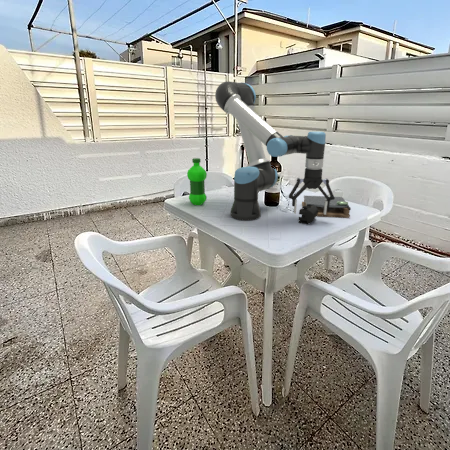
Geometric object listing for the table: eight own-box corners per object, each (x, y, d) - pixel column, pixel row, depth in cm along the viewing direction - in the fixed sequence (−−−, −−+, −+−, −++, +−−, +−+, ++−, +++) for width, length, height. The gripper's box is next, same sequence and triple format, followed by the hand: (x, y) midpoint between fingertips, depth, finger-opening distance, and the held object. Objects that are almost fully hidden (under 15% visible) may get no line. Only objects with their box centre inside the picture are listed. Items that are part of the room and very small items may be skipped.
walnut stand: (305, 215, 147) (306, 205, 145) (301, 204, 165) (302, 195, 163) (349, 218, 144) (351, 207, 142) (341, 206, 162) (342, 196, 160)
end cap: (313, 225, 135) (315, 211, 132) (297, 223, 138) (299, 209, 135) (317, 219, 143) (319, 205, 140) (302, 216, 146) (304, 203, 143)
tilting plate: (306, 206, 147) (307, 201, 146) (303, 197, 162) (304, 192, 161) (348, 207, 144) (349, 202, 143) (341, 198, 159) (342, 194, 158)
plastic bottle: (198, 208, 158) (196, 161, 149) (184, 204, 165) (182, 158, 155) (210, 203, 165) (210, 158, 156) (197, 200, 172) (196, 156, 162)
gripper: (285, 169, 129) (282, 214, 137) (345, 169, 126) (339, 216, 133) (284, 166, 136) (282, 210, 144) (341, 166, 133) (335, 211, 140)
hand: (309, 213), depth 138 cm, fingers open, 13 cm apart
